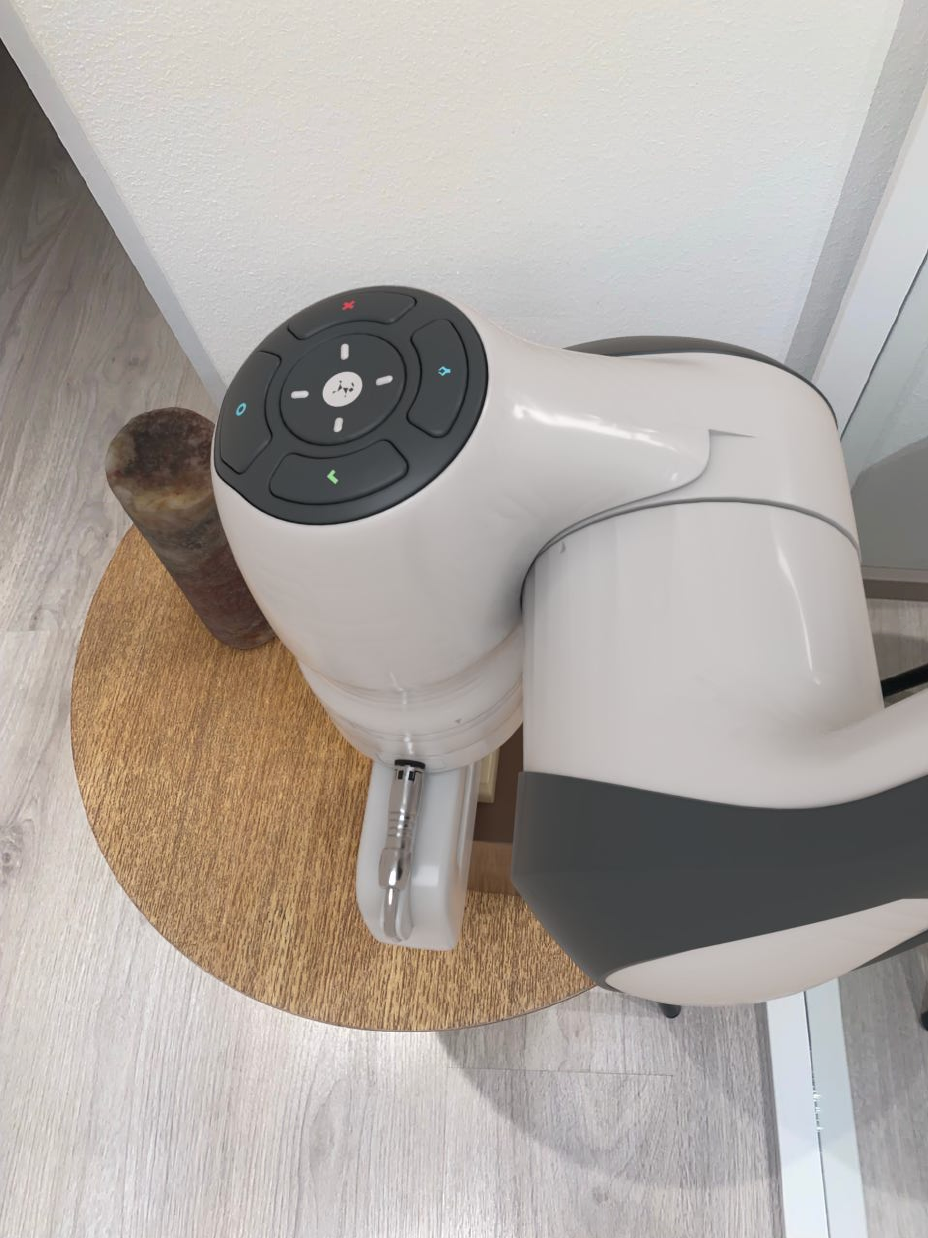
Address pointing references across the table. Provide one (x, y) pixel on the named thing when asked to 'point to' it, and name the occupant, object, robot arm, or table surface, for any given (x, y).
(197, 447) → the brown cylinder
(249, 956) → the table surface
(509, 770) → the stand
